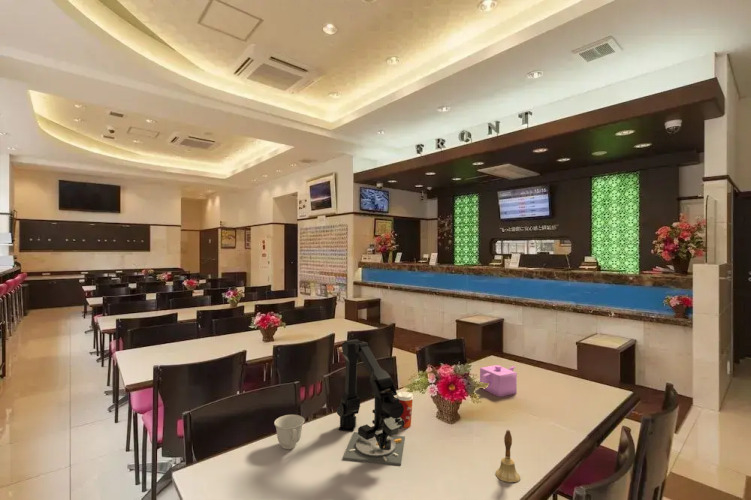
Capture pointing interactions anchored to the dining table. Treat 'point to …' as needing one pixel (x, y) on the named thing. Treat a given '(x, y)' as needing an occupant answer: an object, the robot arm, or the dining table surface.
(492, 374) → the teapot
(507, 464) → the hand bell
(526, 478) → the dining table surface
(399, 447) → the grey dial base plate
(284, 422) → the teacup
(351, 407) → the robot arm
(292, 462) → the dining table surface
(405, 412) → the paper cup
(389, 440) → the dial
